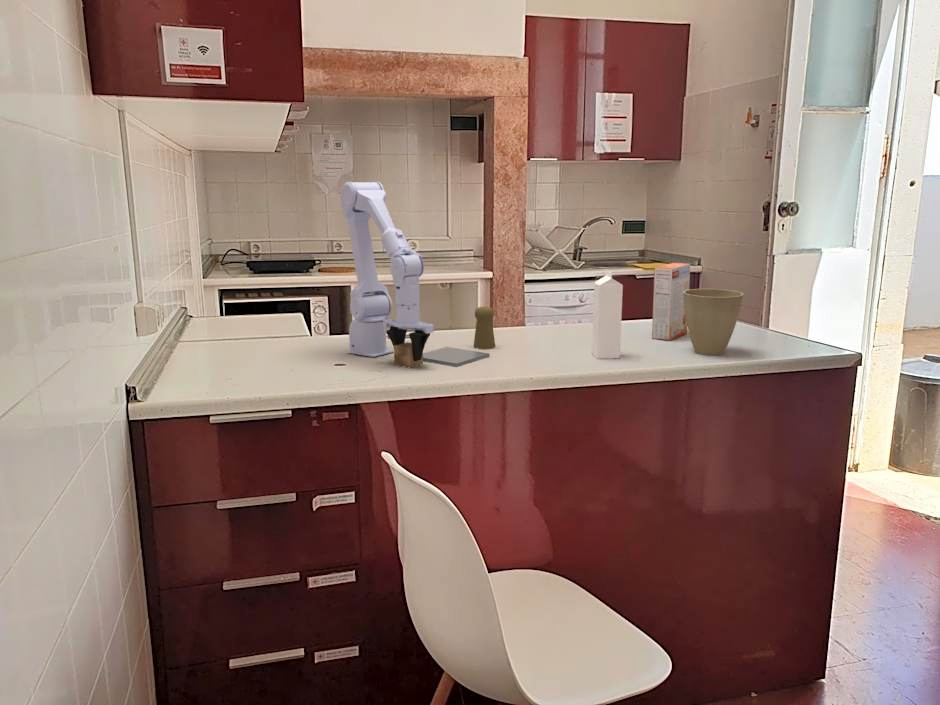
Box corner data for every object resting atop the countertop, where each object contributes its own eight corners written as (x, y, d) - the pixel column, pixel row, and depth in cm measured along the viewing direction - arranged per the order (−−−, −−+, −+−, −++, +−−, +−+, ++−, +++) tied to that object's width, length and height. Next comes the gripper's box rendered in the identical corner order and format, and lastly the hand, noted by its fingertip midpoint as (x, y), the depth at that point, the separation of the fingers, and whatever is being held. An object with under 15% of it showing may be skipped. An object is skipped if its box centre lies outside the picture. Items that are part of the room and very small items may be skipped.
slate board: (412, 359, 192) (412, 356, 192) (446, 349, 203) (446, 346, 203) (456, 366, 184) (456, 363, 183) (489, 356, 195) (489, 353, 194)
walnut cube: (394, 365, 186) (393, 345, 184) (407, 361, 189) (407, 342, 188) (409, 368, 183) (409, 347, 182) (423, 364, 187) (422, 344, 186)
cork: (493, 349, 203) (493, 309, 200) (471, 348, 204) (470, 308, 202) (497, 344, 208) (497, 305, 206) (475, 344, 210) (475, 304, 207)
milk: (614, 353, 198) (618, 269, 193) (619, 358, 192) (624, 272, 187) (591, 353, 198) (594, 269, 193) (596, 359, 192) (599, 272, 187)
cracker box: (668, 331, 228) (672, 262, 223) (687, 333, 224) (692, 263, 220) (649, 339, 217) (653, 266, 212) (670, 341, 213) (674, 267, 209)
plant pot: (669, 348, 204) (672, 289, 201) (718, 345, 208) (722, 287, 204) (698, 360, 190) (702, 297, 187) (750, 357, 194) (755, 295, 190)
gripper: (374, 303, 184) (375, 357, 187) (419, 309, 175) (420, 365, 178) (393, 300, 189) (395, 352, 192) (438, 305, 181) (439, 360, 184)
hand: (408, 358), depth 186 cm, fingers closed on walnut cube, 5 cm apart
